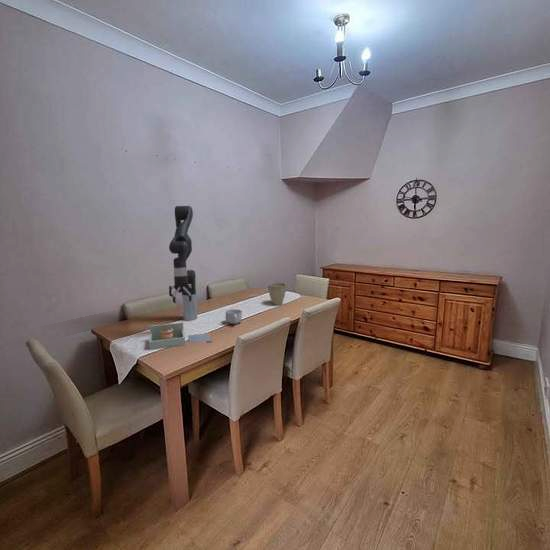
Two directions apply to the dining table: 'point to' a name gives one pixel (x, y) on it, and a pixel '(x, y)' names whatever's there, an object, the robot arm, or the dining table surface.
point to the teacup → (233, 316)
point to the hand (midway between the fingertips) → (182, 302)
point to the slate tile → (199, 338)
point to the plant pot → (277, 292)
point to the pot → (167, 333)
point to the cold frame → (157, 340)
